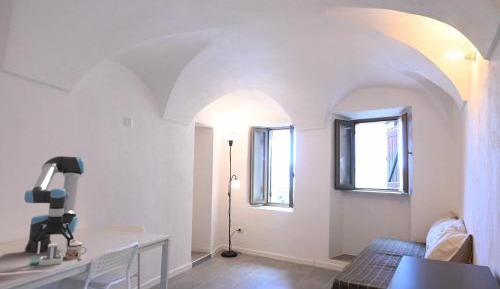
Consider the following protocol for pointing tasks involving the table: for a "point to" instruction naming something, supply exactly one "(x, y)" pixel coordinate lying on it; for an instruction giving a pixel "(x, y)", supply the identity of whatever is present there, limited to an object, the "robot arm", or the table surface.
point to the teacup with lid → (74, 250)
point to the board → (35, 262)
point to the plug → (52, 251)
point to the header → (51, 260)
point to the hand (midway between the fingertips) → (52, 252)
